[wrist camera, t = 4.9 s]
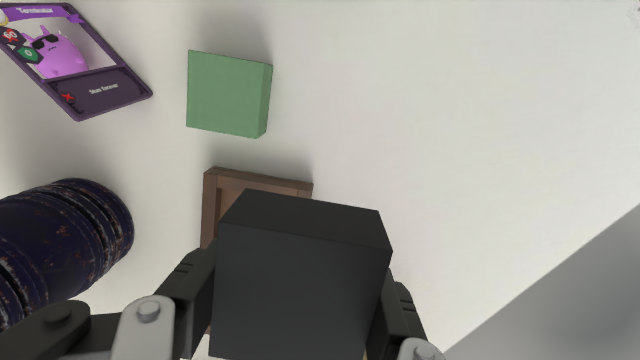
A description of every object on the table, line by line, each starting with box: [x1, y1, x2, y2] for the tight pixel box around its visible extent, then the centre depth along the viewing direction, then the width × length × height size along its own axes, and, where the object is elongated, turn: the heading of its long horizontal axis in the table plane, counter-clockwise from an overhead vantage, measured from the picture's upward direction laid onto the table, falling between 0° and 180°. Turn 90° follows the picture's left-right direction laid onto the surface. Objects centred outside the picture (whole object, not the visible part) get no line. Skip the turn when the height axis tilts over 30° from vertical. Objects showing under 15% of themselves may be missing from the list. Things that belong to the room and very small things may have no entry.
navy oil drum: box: [0, 178, 134, 333], centre depth 23 cm, size 10×10×15 cm
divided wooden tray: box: [200, 166, 313, 335], centre depth 29 cm, size 9×18×2 cm, turn 170°
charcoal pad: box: [208, 188, 393, 360], centre depth 12 cm, size 6×6×3 cm
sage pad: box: [186, 50, 273, 139], centre depth 24 cm, size 6×6×3 cm
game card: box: [0, 3, 153, 122], centre depth 23 cm, size 7×5×9 cm
